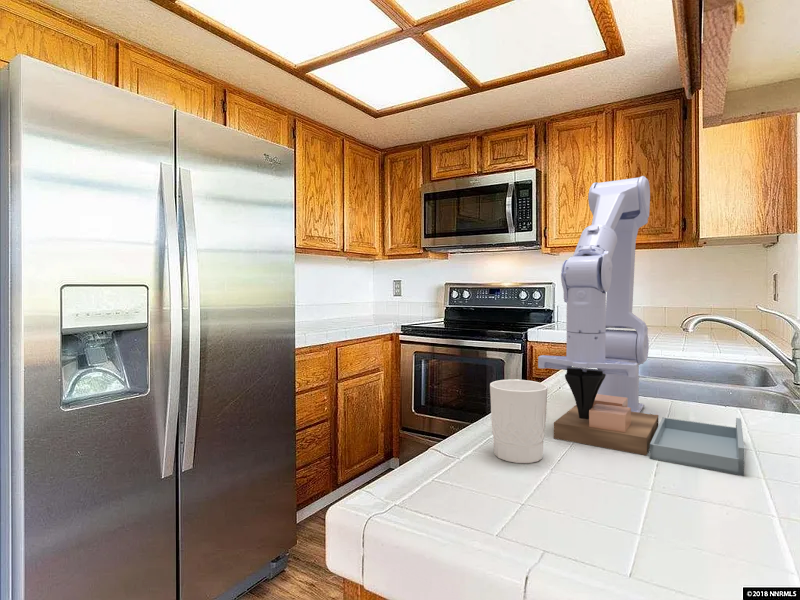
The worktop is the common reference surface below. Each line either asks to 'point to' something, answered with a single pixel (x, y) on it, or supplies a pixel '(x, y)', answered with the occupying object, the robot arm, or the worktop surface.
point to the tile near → (610, 417)
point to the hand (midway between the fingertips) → (585, 417)
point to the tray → (700, 445)
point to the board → (608, 432)
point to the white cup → (518, 419)
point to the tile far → (611, 400)
